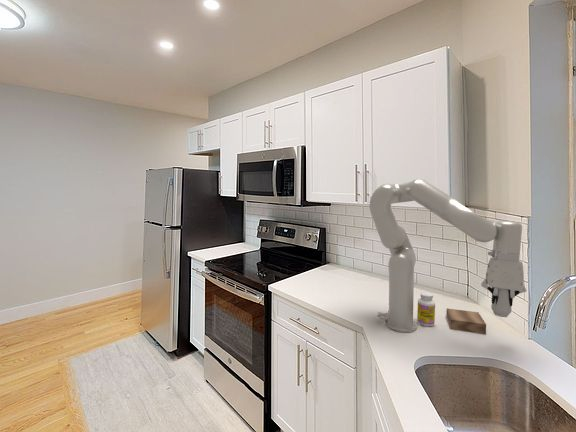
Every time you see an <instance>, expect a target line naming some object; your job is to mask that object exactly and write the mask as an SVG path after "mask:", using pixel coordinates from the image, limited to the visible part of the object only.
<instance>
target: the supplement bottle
mask: <svg viewBox="0 0 576 432" xmlns="http://www.w3.org/2000/svg"><path fill="white" fill-rule="evenodd" d="M433 298H434V295H433V294H432V293H431V292H425V291H424V292H423V291H422V292H420V298H418V300H417V311H416V312H417V315H416V316H417V317H416V321H417V323H418V324H419V325H421V326H424V327H432V326H433V327H434V326H435V320H436V317H435V316H436V302H435V300H433Z"/></svg>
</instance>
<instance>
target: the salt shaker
mask: <svg viewBox="0 0 576 432" xmlns="http://www.w3.org/2000/svg"><path fill="white" fill-rule="evenodd" d="M497 296H498V301H497V304H496V299H495V302H494V304H493V303H492V302H491V306H490V307H491V310H492V312H493V314H494V315H495V316H497V317H501V318H508V317H509V315H510V314H511V313H512V306H511V307H510V304H509V290H507V289H499V288H498V293H497Z"/></svg>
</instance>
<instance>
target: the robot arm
mask: <svg viewBox="0 0 576 432" xmlns="http://www.w3.org/2000/svg"><path fill="white" fill-rule="evenodd" d="M408 202H416V203H417V204H418V205H421V206H422V207H424V208H425V209H426V210H428V211H430V212H431V213H433V214H434V215H435V216H437V217H439V218H440V219H441V220H444V221H445V222H447V223H448V224H449V225H452V226H454V227H455V228H456V229H458V230H459V231H461V232H462V233H463V234H465V235H466V236H469V238H471V239H473V240H475V241H477V242H479V243H488V242H491V241H493V243H492V250H491V251H487V256H490V258H489V261H488V264H487V268H486V273H485V278H484V280H483V281H482V282H481V284H480V286H481V287H483V289H485V290H487V291H488V292H490V293H491V304H492V303H493V304H494V302H495V299H496V304H497V301H498V296H497V293H498V288H499V289H507V290H509V304H510V307H511V308H512V306H513V300H514V299H515V297H516V296H518V295H519V294H523V293H526V292H527V288H526V287H525V285H524V283H525V279H524V278H525V275H524V264H523V261H521V260H520V258H521V257H520V256H521V246H522V232H523V225H522V223H520V222H518V221H512V220H498V221H497V220H491V219H486V218H485V217H482V216H481V215H479V214H478V213H475V212H474V211H472V210H471V209H469V208H468V207H467V206H464V205H463V204H462V203H461V202H460V201H458V200H457V199H455V198H454V197H453V196H451V195H449V194H448V193H446V192H444V191H443V190H441V189H440V188H437V187H436V186H435V185H433V184H432V183H429V182H428V181H426V180H423V179H422V178H416V179H413V180H412V181H407V182H401V183H392V184H391V183H385V184H384V183H383V184H381V185H380V186H378V187H377V188H376V189H375V190H374V191H373V192H372V194H371V196H370V199H369V211H370V215H371V217H372V219H373V220H372V221H373V222H374V223H373V224H374V225H375V228H376V231H377V233H378V237H379V239H380V242H381V244H382V245H383V247H385V249H386V248H387V249H388V250H389V253H390V255H391V256H390V257H389V260H388V267H387V268H388V311H387V312H380V311H378V312H377V318H379V319H381V320H384V325H385V326H386V327H387V328H388V329H390V330H393V331H395V332H399V333H413V332H415V331H416V330H417V329H418V325H417V323H416V322H415V321H414V293H415V291H414V290H415V289H414V287H415V285H414V284H415V280H414V279H415V278H414V276H415V275H414V274H415V273H414V272H415V264H416V260H417V257H416V253H415V252H414V251H415V250H414V249H413V247H412V243H411V241H410V239H409V236H408V234H407V232H406V230H405V229H404V228H403V227H402V226H400V225H399V224H398V221H397V220H396V217H395V215H394V212H393V210H392V204H398V203H399V204H400V203H408Z"/></svg>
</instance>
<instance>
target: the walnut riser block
mask: <svg viewBox="0 0 576 432" xmlns="http://www.w3.org/2000/svg"><path fill="white" fill-rule="evenodd" d="M445 311H446V314H445V317H446V319H447V322H448V325H449V329H450V330H455V331H461V332H469V333H473V334H474V333H475V334H482V335H486V334H487V324H486V322H485V320H484V319H483V317H482V316H481V314H480V312H477V311H470V310H461V309H454V308H446V310H445Z"/></svg>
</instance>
